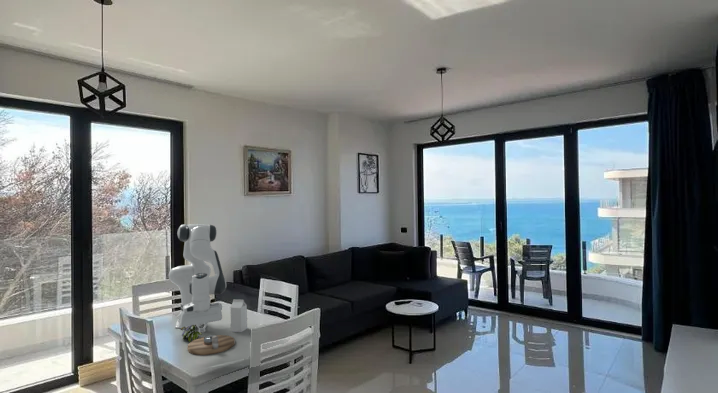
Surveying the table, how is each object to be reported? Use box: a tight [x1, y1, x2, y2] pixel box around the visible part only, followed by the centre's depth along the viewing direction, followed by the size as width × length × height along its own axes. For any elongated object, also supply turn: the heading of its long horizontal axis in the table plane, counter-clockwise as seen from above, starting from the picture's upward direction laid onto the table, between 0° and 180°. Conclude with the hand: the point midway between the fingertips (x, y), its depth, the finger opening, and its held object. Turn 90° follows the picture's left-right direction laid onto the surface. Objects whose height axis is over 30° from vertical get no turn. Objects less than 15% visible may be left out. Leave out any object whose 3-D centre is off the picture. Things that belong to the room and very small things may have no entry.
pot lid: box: [203, 334, 217, 345], centre depth 220 cm, size 7×7×3 cm
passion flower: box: [180, 325, 203, 343], centre depth 233 cm, size 11×11×12 cm
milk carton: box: [229, 299, 248, 333], centre depth 247 cm, size 7×7×19 cm
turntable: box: [187, 334, 235, 356], centre depth 220 cm, size 24×24×8 cm
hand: (202, 331), depth 209 cm, fingers closed
